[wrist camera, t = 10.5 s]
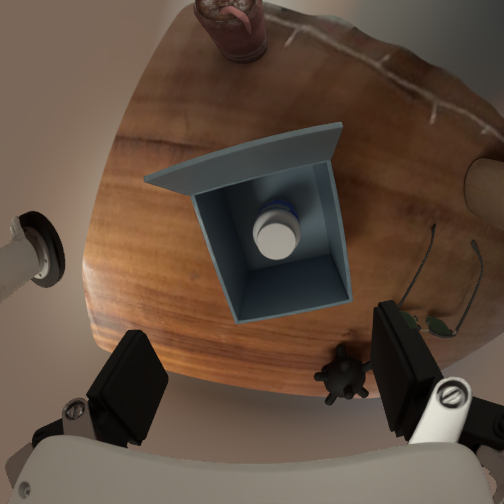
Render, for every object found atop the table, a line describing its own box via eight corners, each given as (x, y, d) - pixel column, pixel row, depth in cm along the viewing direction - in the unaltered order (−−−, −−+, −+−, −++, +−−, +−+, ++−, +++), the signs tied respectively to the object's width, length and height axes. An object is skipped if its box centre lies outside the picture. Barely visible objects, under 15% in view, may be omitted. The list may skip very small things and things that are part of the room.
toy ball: (306, 396, 47) (298, 370, 40) (338, 357, 52) (337, 325, 45) (349, 423, 40) (352, 404, 33) (380, 380, 44) (389, 351, 37)
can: (244, 74, 30) (225, 37, 17) (211, 46, 28) (177, 4, 15) (278, 46, 28) (278, -2, 15) (244, 19, 26) (227, -33, 13)
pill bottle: (296, 236, 37) (302, 267, 28) (257, 235, 38) (250, 266, 29) (298, 197, 35) (305, 217, 26) (257, 196, 36) (250, 215, 27)
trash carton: (217, 175, 35) (189, 192, 24) (311, 151, 33) (329, 157, 22) (247, 272, 41) (235, 324, 29) (333, 254, 38) (352, 301, 27)
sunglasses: (482, 245, 35) (498, 256, 30) (443, 323, 42) (454, 339, 37) (419, 217, 35) (435, 227, 30) (377, 311, 42) (386, 329, 37)
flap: (187, 196, 23) (186, 191, 23) (331, 159, 21) (329, 155, 21) (144, 182, 16) (143, 176, 16) (343, 127, 14) (341, 121, 14)
